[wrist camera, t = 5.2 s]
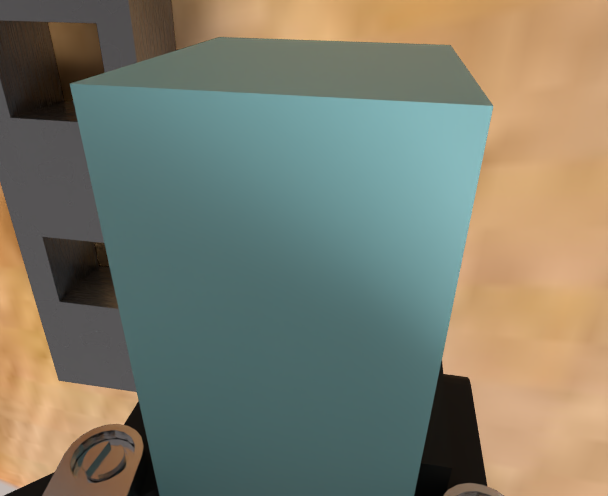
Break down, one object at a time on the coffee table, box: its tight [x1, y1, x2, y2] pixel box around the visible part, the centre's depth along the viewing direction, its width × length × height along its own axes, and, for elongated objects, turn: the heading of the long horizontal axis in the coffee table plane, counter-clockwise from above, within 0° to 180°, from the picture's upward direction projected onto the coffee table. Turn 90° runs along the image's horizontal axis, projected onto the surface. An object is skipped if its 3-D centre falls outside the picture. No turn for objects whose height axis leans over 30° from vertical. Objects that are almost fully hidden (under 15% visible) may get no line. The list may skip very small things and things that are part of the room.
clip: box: [70, 37, 493, 496], centre depth 11 cm, size 14×4×9 cm, turn 179°
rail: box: [0, 0, 176, 392], centre depth 24 cm, size 26×8×4 cm, turn 179°
